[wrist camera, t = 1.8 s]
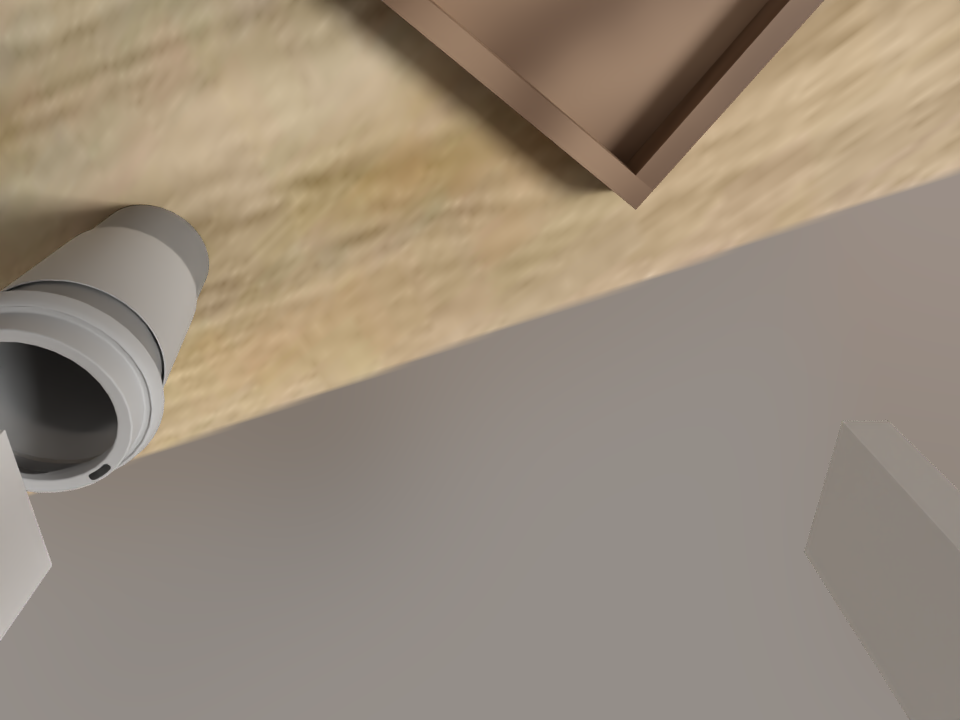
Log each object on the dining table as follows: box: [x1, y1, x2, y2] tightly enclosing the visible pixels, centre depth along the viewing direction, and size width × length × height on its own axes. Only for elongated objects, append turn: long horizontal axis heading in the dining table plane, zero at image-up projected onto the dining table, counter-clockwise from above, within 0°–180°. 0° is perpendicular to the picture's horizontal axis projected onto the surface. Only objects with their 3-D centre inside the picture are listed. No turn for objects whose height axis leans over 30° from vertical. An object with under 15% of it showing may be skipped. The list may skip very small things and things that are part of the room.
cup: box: [0, 205, 209, 493], centre depth 26 cm, size 7×7×12 cm
